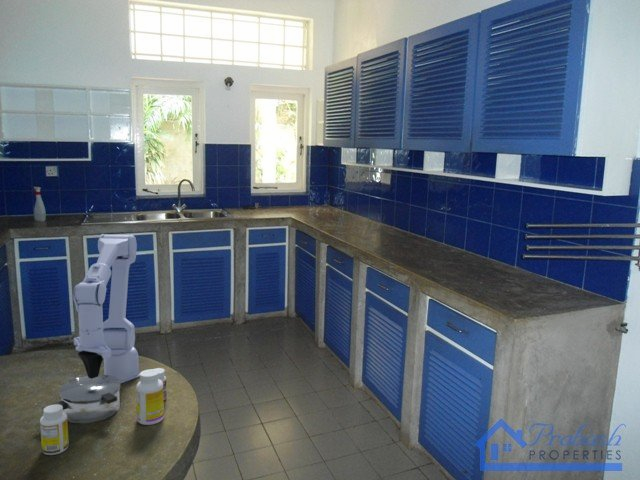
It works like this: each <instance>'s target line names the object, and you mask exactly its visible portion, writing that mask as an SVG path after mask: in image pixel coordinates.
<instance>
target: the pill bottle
mask: <svg viewBox="0 0 640 480" xmlns="http://www.w3.org/2000/svg"><path fill="white" fill-rule="evenodd" d="M154 369H155V370H158V371H159V378H158V379H159V380H161V381H162V382H163V399H164V401H165V400H166V399H167V396H168V395H167V376H166V375H165V374H166V372H165V368H162V367H156V368H154Z"/></svg>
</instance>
